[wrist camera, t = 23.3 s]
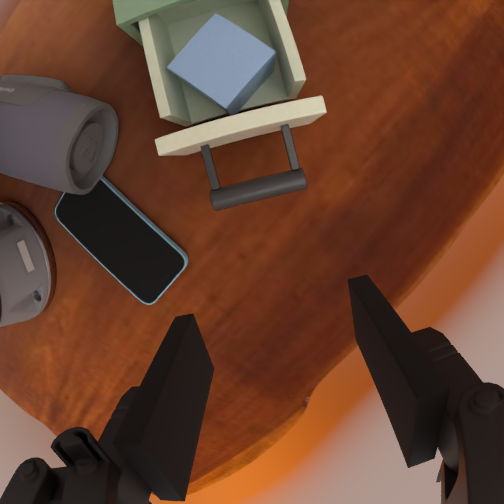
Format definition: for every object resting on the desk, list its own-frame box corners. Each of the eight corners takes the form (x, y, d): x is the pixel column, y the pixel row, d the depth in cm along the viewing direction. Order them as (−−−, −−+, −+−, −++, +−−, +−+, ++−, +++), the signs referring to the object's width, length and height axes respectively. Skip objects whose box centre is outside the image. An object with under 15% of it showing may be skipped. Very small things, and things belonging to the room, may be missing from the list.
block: (233, 118, 25) (225, 108, 20) (184, 82, 25) (166, 67, 19) (274, 70, 24) (276, 51, 19) (224, 37, 23) (215, 12, 18)
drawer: (323, 178, 28) (344, 186, 20) (200, 208, 29) (178, 226, 22) (271, -4, 23) (272, -46, 15) (154, 29, 24) (123, -3, 16)
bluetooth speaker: (-3, 91, 27) (-34, 161, 27) (-41, 61, 18) (-79, 143, 18) (134, 116, 29) (95, 208, 28) (104, 69, 20) (48, 190, 19)
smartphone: (83, 160, 28) (191, 261, 30) (89, 160, 29) (193, 257, 31) (51, 214, 30) (149, 309, 32) (57, 212, 31) (152, 305, 33)
